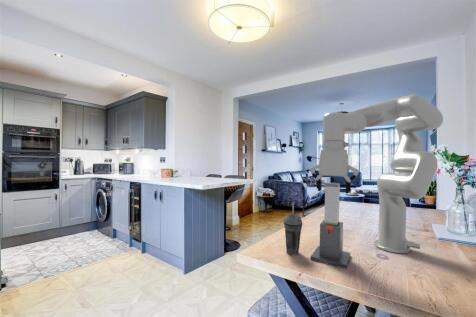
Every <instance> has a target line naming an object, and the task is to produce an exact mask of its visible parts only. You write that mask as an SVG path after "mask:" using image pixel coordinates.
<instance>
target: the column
mask: <svg viewBox="0 0 476 317" xmlns="http://www.w3.org/2000/svg"><path fill="white" fill-rule="evenodd" d="M340 185H341V183H339V182H326V183H325V184H324V187H325V188H324V220H325V221H324V224H328V225H334V226H338V225H339V222H340V196H341V195H340V194H341V193H340V192H341V186H340Z"/></svg>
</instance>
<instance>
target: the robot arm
mask: <svg viewBox="0 0 476 317" xmlns="http://www.w3.org/2000/svg"><path fill="white" fill-rule="evenodd" d="M392 121H395V122H394V124H395V129H396V131H397V134H398V136H399V142H398V145H397V148H396V149H395V152H394V154H393V156H392V158H391V161H390V164H389V165H390V169H391V170H392V171H393V172H385V173H382V174H380V175H379V177H378V178H377V180H376V187H377V191H378V192H377V193H378V198H379V199H378V200H379V205H378V206H379V207H378V239H375V240H374V242H373V244H374V246H375V247H376V248H378V249H381V250H383V251H385V252H389V253H395V254H408V253H410V252H411V248H413V249H418V250H421V244H420V243H416V241H410V240H408V239H407V236H406V235H407V234H406V233H407V206H406V205H407V204H406V203H405V200H404V199H403V198H405V199H411V200H420V199H423V198H424V197H425V196H426V195H427V192H428V191H429V188H430V186H431V184H432V181H433V179H434V177H435V175H436V172H437V169H438V159H437V157H436V154H434V153H433V152H430V151H423V147H424V143H423V140H422V138H420V137H419V135H418V134H417V132H423V131H433V130H436V129H438V128H440V127H441V126H442V124H443V123H444V116H443V114H442V112H441V110H439V109H438V107H437V106H435V105H434V104H433V103H432V102H431V101H429V100H428V99H426V98H425V97H424V96H421V95H419V94H414V93H413V94H408V95H405V96H399V97H397V98H392V99H389V100H385V101H382V102H379V103H375V104H372V105H371V104H370V105H369V106H365V107H362V108H360V109H356V110H353V111H350V112H347V113H346V112H345V113H343V112H340V111H333V112H327V113H325V114H324V115H323V117H322V149H320V153H319V161H318V164H317V165H315V166H313V167H311V168H309V172H310V174H311V175H312V177H313V179H315V181H316V189H317V191H318V192H321V191H322V181H323V180H322V178H323V177H335V178H336V177H339V178H344V179H345V180H346V182H345V194H349V193H350V192H351V187H352V186H351V185H352V181H353V180H355V179H356V178H357V176H358V175H359V173H360V170H359V169H357V168H355V167H353V166H351V165H349V164H350V163H349V154H348V149H346V147H350V142H346V141H345V138H346V135H347V134H356V133H360V132H362V131H364V130H365V129H366V128H371V127H377V126H381V125H384V124H386V123H388V122H392ZM316 170H318V175H317V173H316ZM349 170H350V171H352V172H353V174H352V176H349V173H350V172H349Z"/></svg>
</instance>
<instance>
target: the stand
mask: <svg viewBox="0 0 476 317" xmlns="http://www.w3.org/2000/svg"><path fill="white" fill-rule="evenodd" d="M324 221H325V219H323V220H322V221H321V222H320V224H319V245H318V246H317V247H316V248H315V249H314V251H313V252H312V254H311V256H310V260H311V261H314V262H318V263H322V264H326V265H330V266H335V267H338V268H343V269H348V266H349V262H350V259H351V252H350V251H349V252H348V251H344V250H343V247H344V246H343V245H344V243H343V242H344V222H341V221H339V225H338V226H334V225H328V224H324Z"/></svg>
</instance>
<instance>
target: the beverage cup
mask: <svg viewBox="0 0 476 317" xmlns="http://www.w3.org/2000/svg"><path fill="white" fill-rule="evenodd" d="M291 204H292V206H291V207H292V212H290V213H287V215H285V217H284V220H283V227H284V232H285V233H284V234H285V236H284V237H285V248H286V253H287V254H288V255H290V256H291V255H293V256H297V255H299V250H300V244H301V243H300V242H301V235H302V229H303V219H302V218H301V215H299V214H298V213H296V212H295V202H292V203H291Z"/></svg>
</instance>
